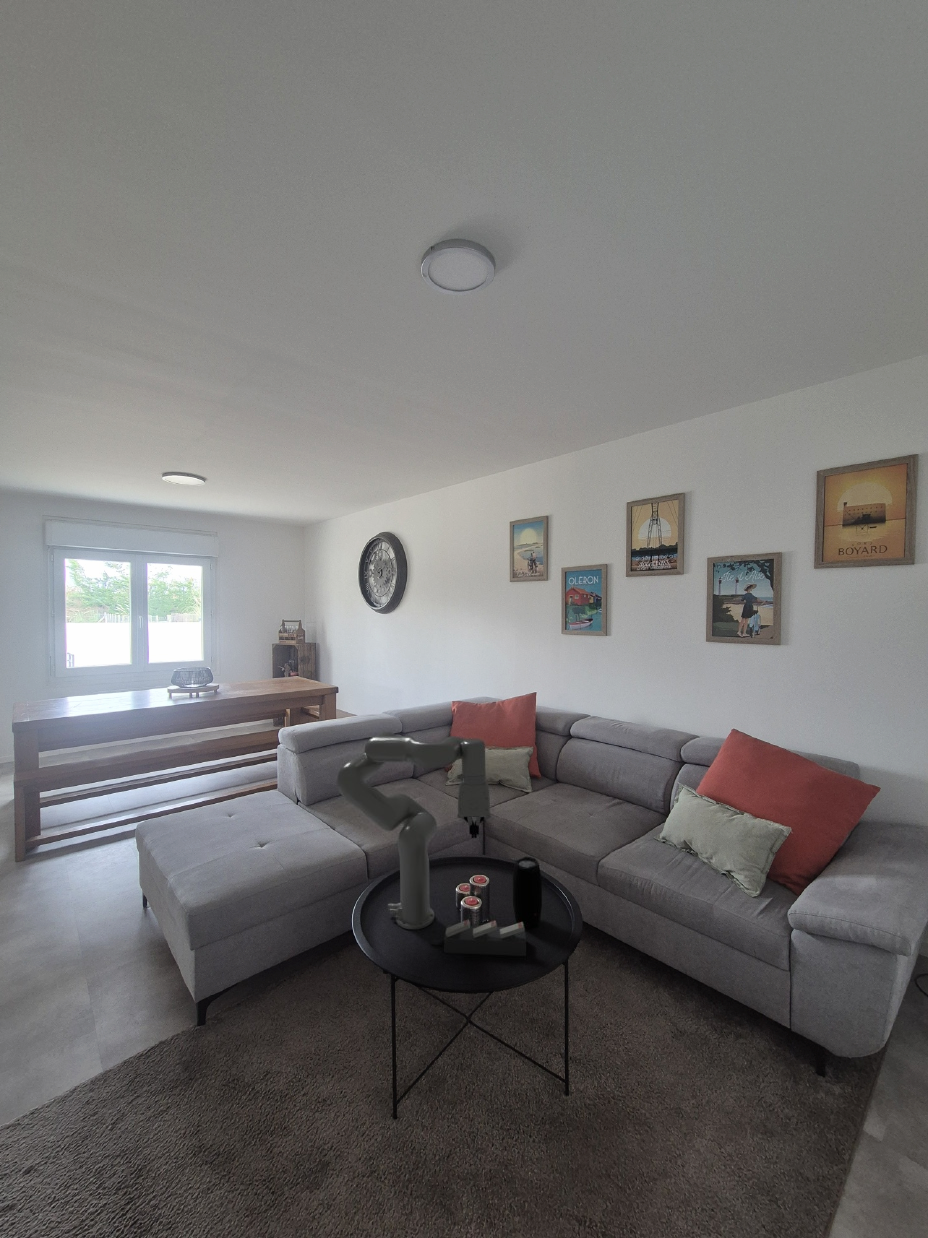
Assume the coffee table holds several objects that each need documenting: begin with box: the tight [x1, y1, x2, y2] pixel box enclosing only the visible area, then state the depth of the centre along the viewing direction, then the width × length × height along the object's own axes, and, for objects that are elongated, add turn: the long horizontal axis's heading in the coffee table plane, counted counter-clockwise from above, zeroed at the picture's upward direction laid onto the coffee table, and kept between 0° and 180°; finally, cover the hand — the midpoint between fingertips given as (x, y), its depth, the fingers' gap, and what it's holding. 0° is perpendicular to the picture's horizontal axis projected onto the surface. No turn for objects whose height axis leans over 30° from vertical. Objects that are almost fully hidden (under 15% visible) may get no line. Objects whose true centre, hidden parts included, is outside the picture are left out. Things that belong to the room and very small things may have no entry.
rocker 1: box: [445, 919, 471, 937], centre depth 149 cm, size 7×3×1 cm, turn 87°
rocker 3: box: [500, 922, 524, 938], centre depth 148 cm, size 7×3×1 cm, turn 86°
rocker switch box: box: [431, 924, 527, 957], centre depth 150 cm, size 28×7×5 cm, turn 86°
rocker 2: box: [473, 920, 498, 938], centre depth 148 cm, size 7×3×1 cm, turn 86°
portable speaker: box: [512, 856, 543, 930], centre depth 162 cm, size 9×9×20 cm
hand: (474, 836), depth 159 cm, fingers closed
